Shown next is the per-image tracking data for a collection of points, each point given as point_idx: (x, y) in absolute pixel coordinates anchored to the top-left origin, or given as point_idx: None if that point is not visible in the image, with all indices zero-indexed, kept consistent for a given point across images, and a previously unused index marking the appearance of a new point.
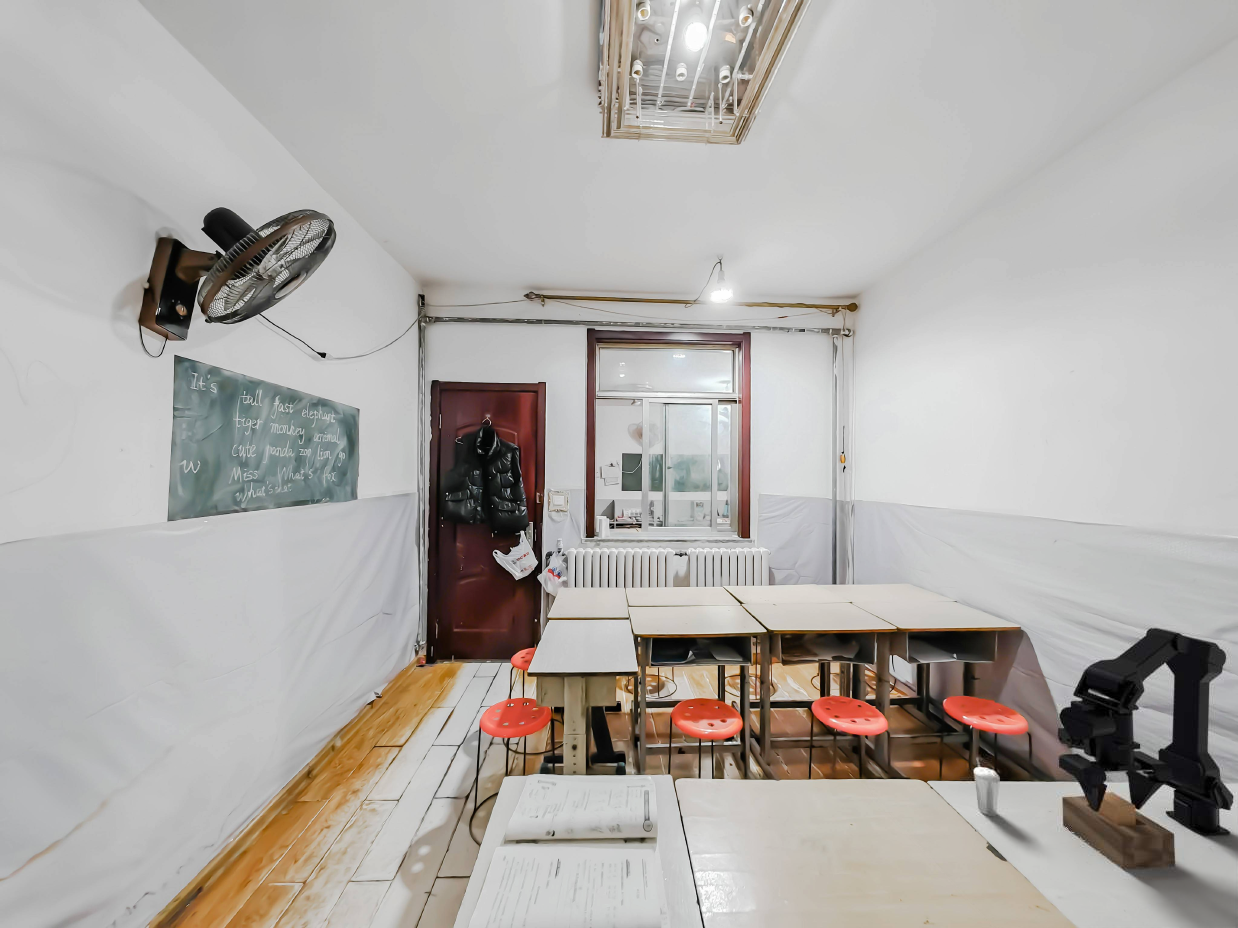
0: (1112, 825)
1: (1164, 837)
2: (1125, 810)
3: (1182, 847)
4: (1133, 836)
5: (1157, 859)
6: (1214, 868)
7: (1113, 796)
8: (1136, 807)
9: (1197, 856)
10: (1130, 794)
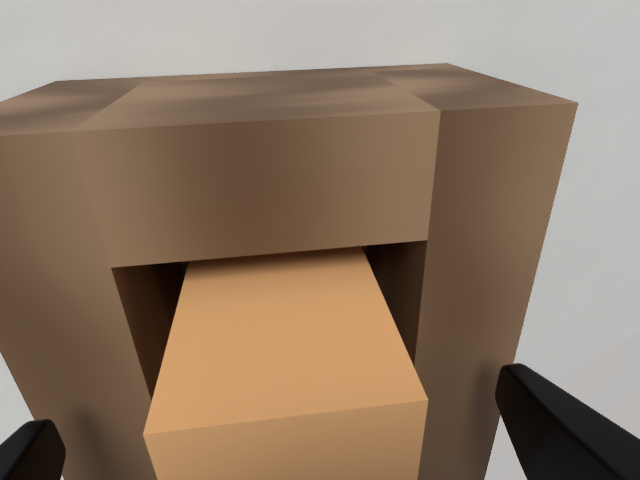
0: (127, 470)
1: None
2: None
3: (601, 249)
4: None
5: None
6: (561, 347)
7: (337, 465)
8: (502, 398)
9: (588, 295)
10: (575, 446)
